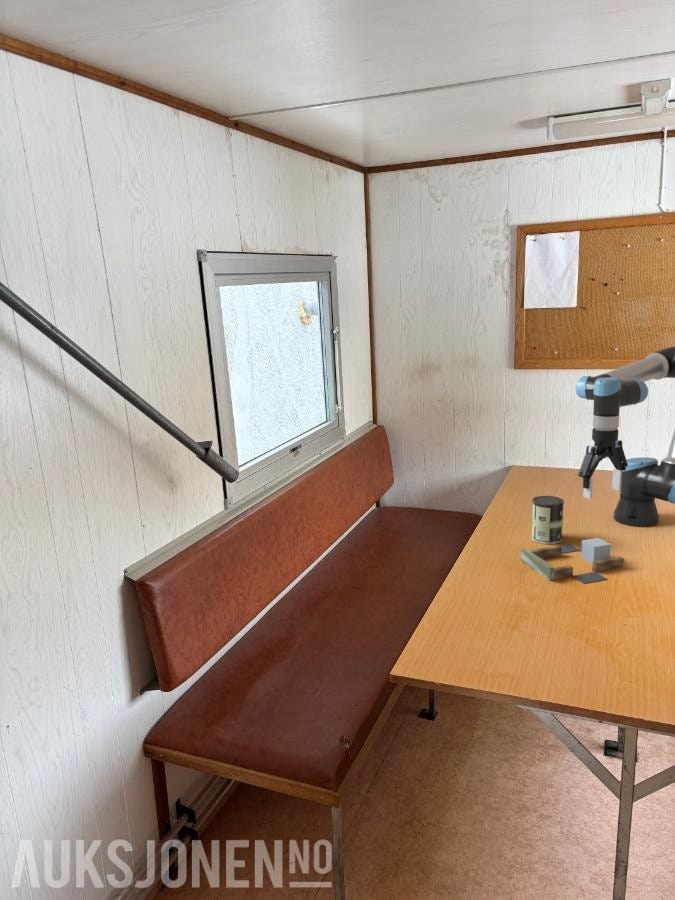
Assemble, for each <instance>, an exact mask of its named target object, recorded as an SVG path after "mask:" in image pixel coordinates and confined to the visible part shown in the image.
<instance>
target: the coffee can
mask: <svg viewBox="0 0 675 900" xmlns="http://www.w3.org/2000/svg"><path fill="white" fill-rule="evenodd" d="M531 502H532V512H531V513H532V517H531V539H532V540H533V541H534V542H535V543H538V544H542V545H543V544H544V545H555V544H560V543H561V542H562V541H563V521H564V504H565V499H563V498H561V497H557V496H552V495H539V496H534V497H533V498H532V499H531Z"/></svg>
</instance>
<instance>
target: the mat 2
mask: <svg viewBox="0 0 675 900" xmlns="http://www.w3.org/2000/svg"><path fill="white" fill-rule="evenodd" d="M572 577H573V578H574V579H575V580H578V582H581V583H582V584H589V583H595V582H601V581H607V580H608V578H607V577H605V576H603V575H602V574H600V573H599V572H594V571H592V572H587V573H581V574H574V575H573V576H572Z"/></svg>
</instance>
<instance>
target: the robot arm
mask: <svg viewBox="0 0 675 900" xmlns="http://www.w3.org/2000/svg"><path fill="white" fill-rule="evenodd" d="M664 378H665V379H667V378H669V379H671V378H673V379H675V345H674V346H670V347H669V346H668V347H666V348H663V349H660V350H656V351H654V352H651V353H649V354H648V355H646V356H645V358H643V359H640V360H637V361H634V362H632V363H630V364H627V365H624V366H620V367H618V368H616V369H613V370H610V371H607V372H605V373H602V374H598V375H595V376H591V375H587V376H586V375H584V376H581V377H579V378H578V380H577V382H576V384H575V393H576V395H577V397H578V398H581V399H586V400H590V401H593V412H592V414H593V415H592V416H593V418H592V427H593V428H592V429H591V430H592V431H591V432H592V434H591V439H592V441H593V442H594V444H593V446H591V445H587V446H586V448H585V449H586V450H585V454H584V457H583V461H582V463H581V465H580V469H579V471H578V474H577V476H578V477H580V478H582V488H583V492H582V494H583V495H582V497H583V498H586V499H589V500H592V498H593V482H594V481H593V480H594V478H592V476H593V475H594V473H595V471H596V469H597V467H598V466H599V463H601V462H602V461H603V459H606V458H608V459H609V460H610V462H611V464H612V465H613V467H614V468H613V469H612V480H611V481H612V484H611V489H613V490H616V491H619V499H618V503H617V505H616V508H615V509H614V511H613V520H615V521H616V522H618V523H619V524H623V525H626V526H631V527H642V528H643V527H652V526H656V525H657V524H658V523H659V519H660V515H659V513H658V512H659V511H658V508H657V505H656V499H657V500H659V501H663V502H664V501H665V502H667V503H668V502H669V503H670V504H675V428H674V429H673V433H672V436H671V441H670V445H669V449H668V452H667V453H668V454H667V456H666V457H664V458H663V459H661V461H660V464H659V461H658V459H657V458H655V457H648V456H646V457H643V456H642V457H631V458H626V455H625V451H624V448H623V440H619V429H618V428H619V427H620V409H621V408H623V407H627V406H634V405H637V404H641V403H643V402H644V401H646V399H647V398H648V395H649V387H648V384H646V382H648V381H650V380H662V379H664Z"/></svg>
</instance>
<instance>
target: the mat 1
mask: <svg viewBox="0 0 675 900" xmlns="http://www.w3.org/2000/svg"><path fill="white" fill-rule="evenodd" d="M560 546H561V547H562V554H567V553H573V552H581V551H580V548H577V547H576V546H574V545H572V544H570V543H568V544H562V545H560Z"/></svg>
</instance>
